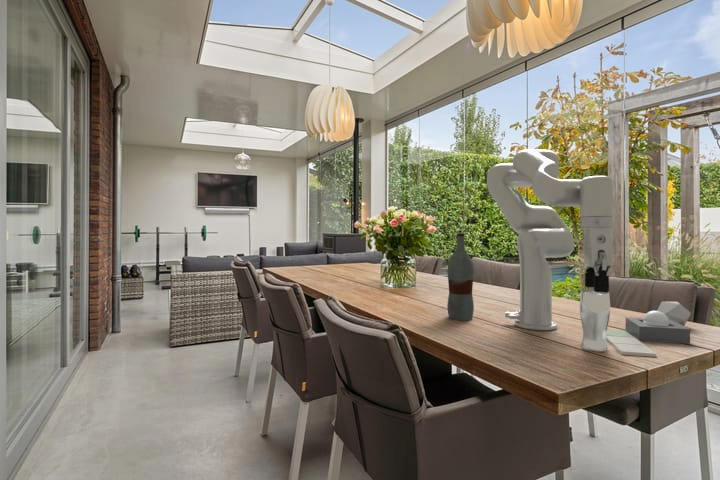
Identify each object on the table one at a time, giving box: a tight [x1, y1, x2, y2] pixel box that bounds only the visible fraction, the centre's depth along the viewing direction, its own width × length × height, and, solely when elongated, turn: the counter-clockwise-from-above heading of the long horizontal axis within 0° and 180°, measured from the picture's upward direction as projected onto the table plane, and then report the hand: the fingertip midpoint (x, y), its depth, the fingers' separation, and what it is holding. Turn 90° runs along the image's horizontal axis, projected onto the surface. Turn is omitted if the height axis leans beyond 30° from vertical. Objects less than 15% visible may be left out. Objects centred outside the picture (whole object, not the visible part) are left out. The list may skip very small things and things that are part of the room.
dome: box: [643, 310, 669, 326], centre depth 119 cm, size 6×6×6 cm
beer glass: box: [579, 289, 611, 353], centre depth 108 cm, size 7×7×15 cm
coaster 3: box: [612, 343, 657, 358], centre depth 106 cm, size 8×8×1 cm
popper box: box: [624, 316, 691, 345], centre depth 119 cm, size 12×12×4 cm
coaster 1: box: [606, 329, 634, 337], centre depth 121 cm, size 8×8×1 cm
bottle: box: [446, 232, 475, 321], centre depth 145 cm, size 9×9×30 cm
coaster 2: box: [606, 336, 645, 347], centre depth 113 cm, size 8×8×1 cm
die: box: [656, 301, 692, 327], centre depth 132 cm, size 8×9×10 cm
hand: (596, 289), depth 107 cm, fingers open, 9 cm apart
